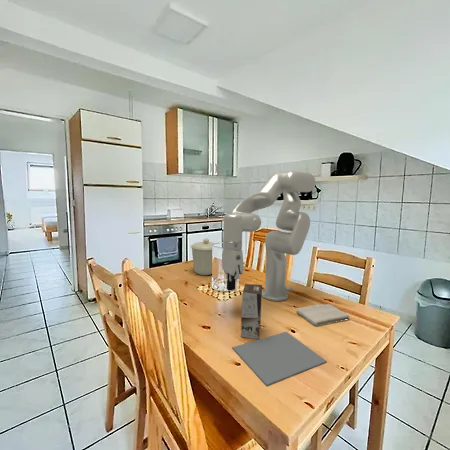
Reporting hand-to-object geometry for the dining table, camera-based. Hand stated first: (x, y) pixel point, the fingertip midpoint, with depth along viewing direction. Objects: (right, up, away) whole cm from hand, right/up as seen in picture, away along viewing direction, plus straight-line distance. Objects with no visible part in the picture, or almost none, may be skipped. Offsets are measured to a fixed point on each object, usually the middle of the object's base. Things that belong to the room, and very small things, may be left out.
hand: (230, 289), depth 106 cm
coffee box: (+7, -12, -12) cm, 19 cm away
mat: (+14, -14, -25) cm, 32 cm away
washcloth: (+37, -12, +1) cm, 39 cm away
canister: (-14, -3, +53) cm, 55 cm away
